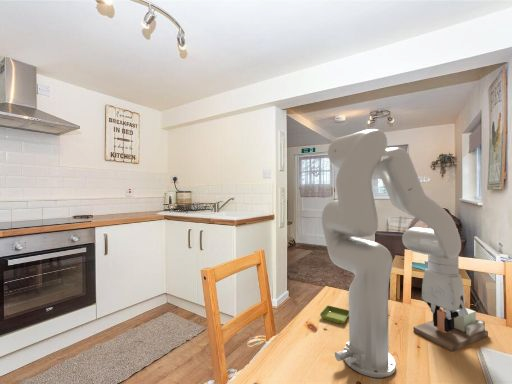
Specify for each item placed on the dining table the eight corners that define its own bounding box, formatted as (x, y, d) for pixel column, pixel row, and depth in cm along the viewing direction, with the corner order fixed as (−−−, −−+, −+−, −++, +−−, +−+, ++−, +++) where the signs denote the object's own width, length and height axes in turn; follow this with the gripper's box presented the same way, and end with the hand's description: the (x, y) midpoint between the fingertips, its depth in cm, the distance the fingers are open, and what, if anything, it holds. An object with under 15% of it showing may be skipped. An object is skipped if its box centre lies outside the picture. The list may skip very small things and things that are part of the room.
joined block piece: (452, 336, 75) (452, 316, 75) (431, 326, 81) (431, 307, 81) (475, 327, 80) (475, 308, 80) (454, 318, 85) (454, 300, 85)
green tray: (319, 320, 90) (319, 314, 90) (327, 310, 97) (327, 304, 97) (344, 327, 85) (344, 321, 85) (351, 316, 92) (351, 310, 92)
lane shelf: (451, 351, 71) (451, 337, 71) (413, 331, 81) (413, 318, 81) (488, 336, 78) (487, 322, 78) (448, 319, 88) (448, 308, 88)
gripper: (409, 262, 84) (410, 318, 84) (465, 277, 69) (466, 345, 69) (424, 260, 87) (425, 314, 87) (481, 273, 72) (482, 339, 72)
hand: (443, 327), depth 78 cm, fingers closed on joined block piece, 2 cm apart
